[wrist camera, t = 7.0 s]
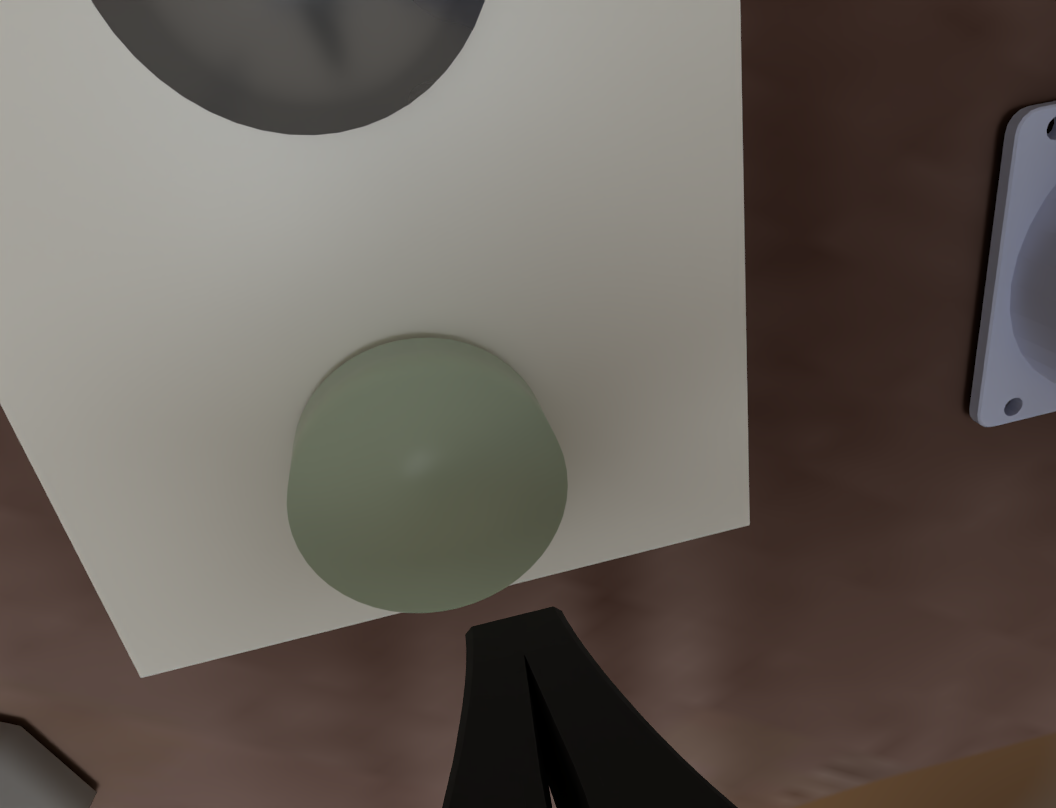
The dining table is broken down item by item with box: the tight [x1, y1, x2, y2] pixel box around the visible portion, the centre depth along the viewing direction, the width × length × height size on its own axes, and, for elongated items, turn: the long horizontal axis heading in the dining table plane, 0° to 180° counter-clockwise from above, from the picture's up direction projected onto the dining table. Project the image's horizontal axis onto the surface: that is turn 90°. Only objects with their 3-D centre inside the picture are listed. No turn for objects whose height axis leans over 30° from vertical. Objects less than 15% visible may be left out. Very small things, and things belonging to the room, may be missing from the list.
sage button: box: [287, 338, 568, 613], centre depth 15 cm, size 5×5×2 cm
